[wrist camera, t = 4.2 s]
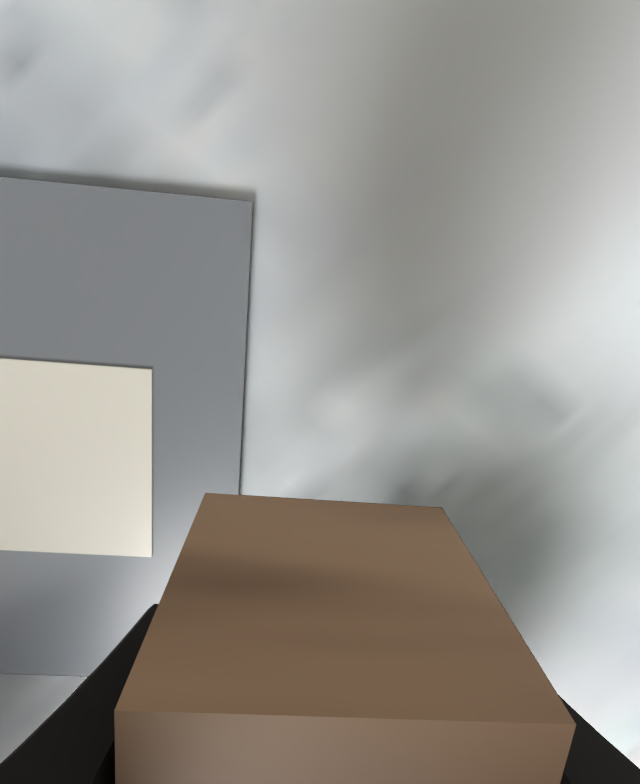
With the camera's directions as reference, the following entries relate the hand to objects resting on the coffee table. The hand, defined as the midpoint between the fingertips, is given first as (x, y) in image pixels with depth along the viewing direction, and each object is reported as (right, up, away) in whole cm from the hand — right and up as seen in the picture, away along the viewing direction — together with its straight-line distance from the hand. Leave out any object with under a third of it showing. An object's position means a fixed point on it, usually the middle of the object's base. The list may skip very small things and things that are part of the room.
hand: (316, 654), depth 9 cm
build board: (-9, +3, +7) cm, 12 cm away
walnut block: (0, 0, +1) cm, 2 cm away
